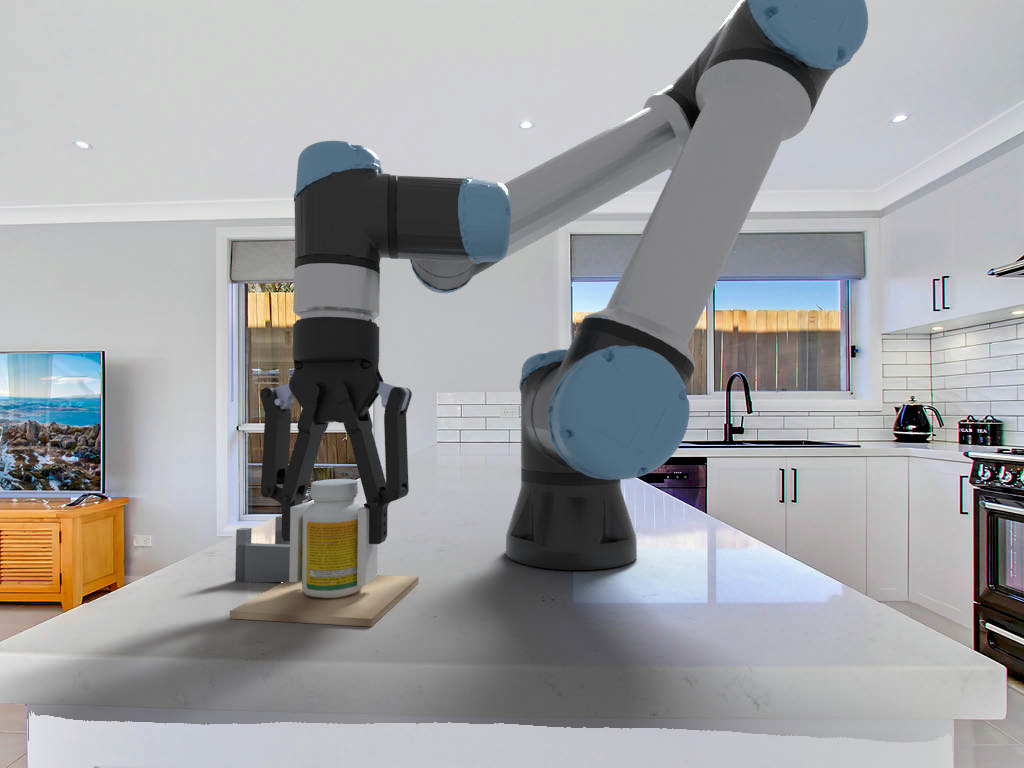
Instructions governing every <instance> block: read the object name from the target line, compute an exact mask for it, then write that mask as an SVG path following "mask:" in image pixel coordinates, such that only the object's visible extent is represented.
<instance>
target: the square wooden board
mask: <svg viewBox="0 0 1024 768" xmlns="http://www.w3.org/2000/svg"><path fill="white" fill-rule="evenodd" d="M419 578H420V577H419V576H410V575H409V576H406V575H385V574H384V575H383V574H377V577H376V578H375V579H373V580H372V581H371V582H369V583H368V584H366V585H364V586H363V587H362V588H361V589H360V590H359V591H358V592H356V593H353V594H350V595H347V596H343V597H337V598H320V597H311V596H308V595H306V594H305V593H304V592H303V589H302V580H300V581H298V582H289V579H288V580H287V581H285V582H283V583H278V584H277V585H276V586H274V587H272V588H270V589H268V590H266V591H264V592H263V593H260V594H258V595H257V596H255V597H253V598H251V599H249V600H247V601H245V602H244V603H242V604H239V605H238V606H236V607H234V608H232V609H231V610H229V619H233V620H234V619H235V620H249V621H250V620H251V621H267V622H283V623H286V622H287V623H288V622H289V623H301V624H302V623H303V624H321V625H336V626H337V625H339V626H352V627H353V626H354V627H355V626H357V627H369V628H370V627H373V626H374V625H375V624H376V623H378V621H380V619H382V617H384V616H385V615H386V614H387V613H388V612H389V611H390V610H392V608H393V607H394V606H396V605H397V604H398V603H399V602H400V601H401V600H402V599H403V598H404V597H405V596H407V594H409V593H410V591H411V590H413V589H414V588H415V587H416V586H417V585H418V584H419V582H420V581H419Z"/></svg>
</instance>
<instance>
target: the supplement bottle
mask: <svg viewBox="0 0 1024 768" xmlns="http://www.w3.org/2000/svg"><path fill="white" fill-rule="evenodd" d="M358 488H359V486H358V480H357V479H351V478H333V479H323V480H316V481H312V482H311V483H310V498H311V500H313V504H312V505H310V506H308V507H307V508H306V509H305V511H304V513H303V523H302V589H303V592H304V593H305V594H306V595H308V596H311V597H320V598H337V597H343V596H347V595H350V594H353V593H356V592H358V591H359V590H360V589H361V588H362V587H363V586H364V585H357V556H358V509H359V508H361V507H363V506H362V504H361V503H359V502H356V501H355V498H356V497H357V496H358V494H359V490H358Z"/></svg>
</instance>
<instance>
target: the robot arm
mask: <svg viewBox="0 0 1024 768" xmlns="http://www.w3.org/2000/svg"><path fill="white" fill-rule="evenodd" d="M868 28H869V11H868V8H867V3H866V0H739V2H738V3H737V4H736V6H735V7H734V8H733V10H732V11H731V12H730V13H729V15H728V17H727V18H726V19H725V21H724V22H723V23H722V24H721V25H720V27H719V28H718V29H717V31H716V32H715V33H714V35H713V36H712V37H711V39H710V40H709V41H708V42H707V44H706V46H705V47H704V48H703V49H702V51H701V52H700V53H699V55H698V56H697V57H696V58H695V60H694V61H693V62H692V63H691V64H690V65H689V67H687V69H685V70H684V72H683V73H682V74H681V75H679V77H678V78H676V79H675V80H674V81H673V82H672V83H671V84H669V85H667V87H665V88H664V89H662V90H660V91H658V92H656V93H654V94H652V95H650V96H649V97H648V98H647V99H646V101H645V103H644V106H643V109H642V110H641V111H639V112H637V113H636V114H633V115H632V116H630V117H628V118H625V119H624V120H622V121H621V122H619V123H617V124H615V125H612V126H611V127H609V128H607V129H604V130H603V131H601V132H600V133H598V134H595V135H594V136H592V137H590V138H588V139H586V140H584V141H582V142H580V143H579V144H576V145H575V146H573V147H572V148H569V149H567V150H566V151H563V152H562V153H560V154H558V155H556V156H554V157H551V158H550V159H548V160H546V161H544V162H543V163H541V164H539V165H538V166H537V165H536V166H535V167H533V168H532V169H530V170H528V171H526V172H524V173H522V174H520V175H518V176H516V177H515V178H513V179H511V180H509V181H507V182H505V183H501V182H499V181H493V180H484V179H478V178H474V177H472V176H471V177H470V176H467V177H465V178H461V177H458V178H457V177H438V176H417V175H416V176H413V175H411V176H410V175H395V174H394V175H393V174H390V173H384V172H383V171H384V170H383V169H382V166H381V165H382V163H381V160H380V158H379V157H378V155H377V153H375V152H374V151H372V149H370V148H368V147H365V146H364V145H361V144H360V145H359V144H350V143H349V142H348V141H345V140H324V141H323V140H322V141H318V142H315V143H311V144H309V145H308V146H306V147H305V148H304V149H302V151H301V152H300V154H299V156H298V160H297V172H296V182H295V183H296V184H295V191H294V194H293V202H294V269H293V271H294V273H293V274H294V275H293V276H294V277H293V280H294V281H293V303H292V304H293V305H292V308H293V309H292V312H293V313H294V314H295V315H296V316H297V317H300V318H299V319H297V320H296V321H295V323H293V324H292V360H293V363H294V364H293V365H294V369H293V372H292V375H290V378H289V382H288V383H285V384H283V385H279V386H276V387H263V388H262V389H261V390H260V394H259V397H260V400H261V404H262V407H263V412H264V426H263V427H264V429H263V443H262V444H263V447H262V459H261V460H262V461H261V462H262V463H261V478H260V479H261V480H260V481H261V482H260V494H261V496H262V497H263V498H265V499H269V498H270V499H272V500H274V501H277V502H278V503H279V504H280V506H281V515H282V538H283V541H290V571H289V582H298V581H300V580H302V523H303V513H304V511H305V509H306V508H307V507H308V506H310V505H312V504H314V502H303V501H306V500H308V499H309V497H310V496H309V495H307V492H308V488H309V484H310V481H311V478H312V474H313V470H314V466H315V464H316V460H317V457H318V454H319V453H318V452H319V450H320V447H321V443H322V439H323V436H324V433H325V432H326V431H327V429H328V426H329V423H330V424H331V423H335V422H336V423H339V424H343V426H344V427H343V428H344V430H345V433H347V434H348V436H349V441H350V444H351V449H352V451H353V452H352V453H353V455H354V460H355V464H356V467H357V472H358V474H359V479H360V482H361V485H362V489H363V494H364V497H365V500H366V503H363V506H362V507H361V508H359V509H358V556H357V585H366V584H368V583H369V582H371V581H372V580H373V579H375V578H376V577H377V575H378V545H381V544H382V543H383V542H386V540H387V538H388V509H389V505H390V504H391V503H393V502H395V501H397V500H400V499H402V498H404V497H406V496H407V495H408V494H409V491H410V490H409V487H410V486H409V462H408V461H409V460H408V459H409V458H408V434H407V433H408V432H407V431H408V430H407V428H408V426H407V412H408V409H409V406H410V403H411V401H412V400H411V399H412V395H413V394H412V390H411V389H410V388H408V387H402V386H395V385H392V384H389V383H386V382H384V379H383V377H382V374H381V373H380V369H379V362H380V326H378V323H376V322H374V320H375V319H377V318H378V317H379V316H380V295H381V294H380V290H381V288H380V286H381V279H380V278H381V267H380V264H381V259H383V258H384V259H385V258H386V259H390V260H394V259H395V260H400V259H402V260H409V261H410V264H411V269H412V271H413V273H414V275H415V276H416V278H417V280H418V282H420V284H421V285H423V286H424V287H425V288H426V289H428V290H430V291H432V292H435V293H437V294H450V293H451V294H452V293H454V292H457V291H459V290H461V289H462V288H463V287H465V286H466V285H467V284H468V283H469V282H471V280H472V278H473V277H476V276H477V275H479V274H480V273H481V272H484V271H485V270H488V269H489V268H491V267H493V266H494V265H496V264H497V263H499V262H501V261H502V260H504V259H506V258H507V257H509V256H512V255H514V254H515V253H517V252H519V251H521V250H522V249H524V248H526V247H528V246H530V245H532V244H534V243H536V242H538V241H539V240H541V239H542V238H544V237H547V236H549V235H550V234H552V233H553V232H556V231H557V230H559V229H561V228H563V227H565V226H566V225H569V224H570V223H572V222H574V221H576V220H577V219H580V218H581V217H583V216H584V215H588V213H591V212H592V211H594V210H596V209H598V208H599V207H601V206H603V205H606V204H607V203H609V202H611V201H612V200H614V199H616V198H618V197H620V196H621V195H623V194H625V193H628V192H629V191H631V190H633V189H635V188H637V187H638V186H640V185H642V184H644V183H646V182H647V181H649V180H651V179H653V178H655V177H657V176H658V175H660V174H663V173H665V172H666V171H667V170H669V171H670V174H669V176H668V179H667V181H666V182H665V185H664V187H663V189H662V191H661V192H660V195H659V198H658V199H657V202H656V204H655V206H654V207H653V210H652V212H651V214H650V216H649V218H648V220H647V222H646V224H645V226H644V228H643V230H642V233H641V235H640V236H639V239H638V240H637V243H636V245H635V247H634V248H633V252H632V253H631V256H630V257H629V260H628V261H627V263H626V266H625V268H624V270H623V271H622V274H621V276H620V278H619V280H618V283H617V285H616V287H615V288H614V291H613V293H612V294H611V297H610V299H609V301H608V303H607V306H606V307H605V308H603V309H602V310H600V311H596V312H593V313H590V314H587V315H585V316H584V318H583V319H582V321H581V324H580V325H579V327H578V329H577V331H576V333H575V336H574V337H573V339H572V341H571V343H570V345H569V348H561V349H552V350H548V352H539V353H536V354H534V355H532V356H529V357H528V358H527V359H526V360H525V362H524V363H523V365H522V367H521V376H520V381H519V390H520V398H521V399H520V469H521V470H520V490H519V493H518V496H517V498H516V499H517V500H516V503H515V506H514V509H513V513H512V514H511V518H510V521H509V524H508V527H507V530H506V536H505V554H506V556H507V557H508V558H509V559H510V560H512V561H514V562H517V563H520V564H523V565H527V566H531V567H537V568H543V569H552V570H568V571H569V570H570V571H572V570H573V571H584V570H585V571H591V570H602V569H603V570H604V569H612V568H617V567H621V566H624V565H628V564H630V563H633V562H634V561H635V560H636V559H637V557H638V556H637V555H638V552H637V550H638V549H637V547H638V546H637V545H638V544H637V543H638V542H637V536H636V535H637V534H636V532H635V530H634V526H633V523H632V520H631V516H630V513H629V511H628V507H627V504H626V501H625V498H624V495H623V493H622V487H621V486H622V484H621V483H622V481H621V480H630V479H635V478H636V479H637V478H640V477H642V476H645V475H648V474H649V473H652V472H653V471H655V470H657V469H659V468H660V467H661V466H663V465H664V464H665V463H666V462H667V461H668V460H669V459H670V458H671V457H672V456H673V455H674V454H675V453H676V451H677V450H678V449H679V447H680V445H681V443H682V442H683V439H684V437H685V435H686V432H687V429H688V425H689V420H690V401H689V399H688V395H687V391H686V389H687V387H688V385H689V382H690V380H691V378H692V375H693V373H694V371H695V369H696V361H695V359H694V356H693V355H692V352H691V350H690V347H689V342H690V340H691V338H692V335H693V334H694V332H695V329H696V327H697V325H698V323H699V321H700V319H701V317H702V315H703V312H704V311H705V309H706V306H707V304H708V302H709V299H710V297H711V295H712V293H713V291H714V289H715V286H716V284H717V282H718V280H719V278H720V276H721V274H722V271H723V269H724V267H725V264H726V262H727V261H728V258H729V256H730V254H731V251H732V250H733V248H734V245H735V244H736V241H737V239H738V237H739V234H740V232H741V230H742V228H743V226H744V224H745V221H746V219H747V218H748V215H749V213H750V211H751V208H752V206H753V204H754V202H755V200H756V198H757V196H758V193H759V192H760V189H761V187H762V184H763V182H764V180H765V179H766V177H767V174H768V171H769V170H770V168H771V165H772V163H773V161H774V159H775V157H776V154H777V153H778V150H779V148H780V146H781V143H782V142H784V141H788V140H790V139H792V138H794V137H796V136H797V135H798V134H799V133H801V132H802V131H803V130H804V128H805V127H806V126H807V125H808V122H809V120H810V118H811V117H812V114H813V111H814V109H815V108H816V106H817V104H818V102H819V99H820V97H821V95H822V93H823V91H824V88H825V86H826V84H827V82H828V80H830V78H831V76H832V75H833V74H834V73H835V72H836V70H838V69H840V68H842V67H845V65H847V64H848V63H849V62H851V60H852V59H853V57H854V55H855V54H856V53H857V52H858V51H859V50H860V48H861V47H862V45H863V43H864V42H865V39H866V38H867V37H866V36H867V34H868V33H867V32H868ZM379 396H380V398H381V402H380V403H381V406H382V407H383V408H384V414H383V415H384V416H383V417H384V418H383V420H384V421H383V427H384V430H383V431H384V453H385V454H384V457H385V462H384V463H385V474H384V471H383V467H382V463H381V459H380V456H379V451H378V448H377V444H376V440H375V437H374V436H375V435H374V433H373V428H374V427H373V426H374V425H373V421H372V418H371V413H370V410H369V409H370V408H371V407H372V406H373V404H374V402H375V401H376V399H378V397H379ZM294 398H295V400H296V401H297V403H298V404H299V406H300V408H301V412H300V415H299V418H298V422H297V425H296V426H297V430H298V431H297V436H296V438H295V443H294V446H293V450H292V453H291V456H290V445H291V444H290V443H291V428H292V427H291V426H292V413H291V408H292V407H293V405H294V403H295V402H294Z"/></svg>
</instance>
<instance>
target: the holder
mask: <svg viewBox="0 0 1024 768" xmlns="http://www.w3.org/2000/svg"><path fill="white" fill-rule="evenodd" d="M274 523H275V526H274V529H275V530H274V536H275V537H274V543H257V542H256V543H255V542H252V531H253V530H252V527H240V528H238V529H236V530H235V532H236V533H235V574H234V576H235V580H234V581H235V582H248V583H249V582H250V583H251V582H252V583H267V582H285V581H287V580H288V579H289V571H290V541H283V538H282V514H281V515H277V516H275V522H274Z"/></svg>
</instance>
